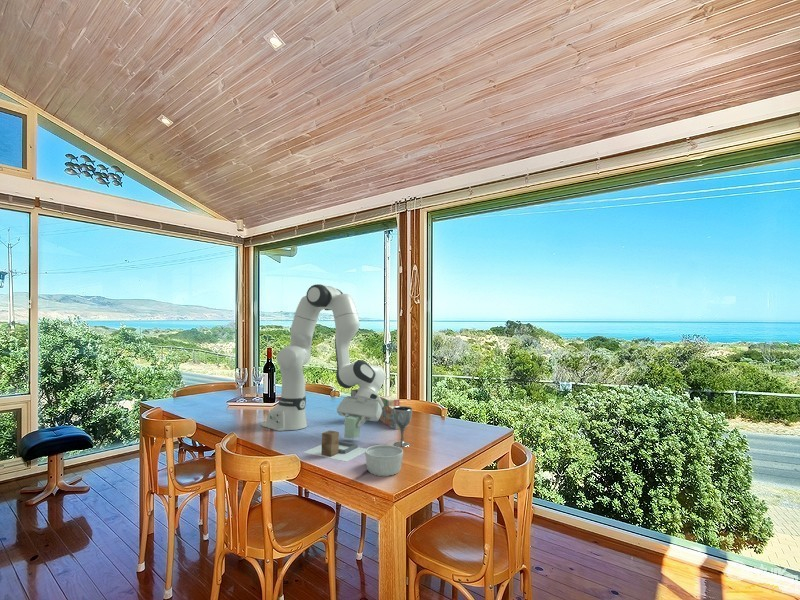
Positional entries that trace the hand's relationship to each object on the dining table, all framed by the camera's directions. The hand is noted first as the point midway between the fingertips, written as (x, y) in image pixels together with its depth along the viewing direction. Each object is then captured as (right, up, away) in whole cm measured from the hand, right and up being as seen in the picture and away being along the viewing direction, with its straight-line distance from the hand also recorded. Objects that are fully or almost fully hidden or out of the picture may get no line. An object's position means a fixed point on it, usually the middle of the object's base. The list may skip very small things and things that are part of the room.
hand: (351, 425), depth 170 cm
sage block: (0, -5, 0) cm, 5 cm away
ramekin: (+15, -7, -30) cm, 34 cm away
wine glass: (+21, -8, +1) cm, 23 cm away
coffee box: (0, -10, +38) cm, 40 cm away
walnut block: (-6, -5, -17) cm, 19 cm away
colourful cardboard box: (+16, -10, +35) cm, 40 cm away
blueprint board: (-4, -7, -13) cm, 15 cm away
